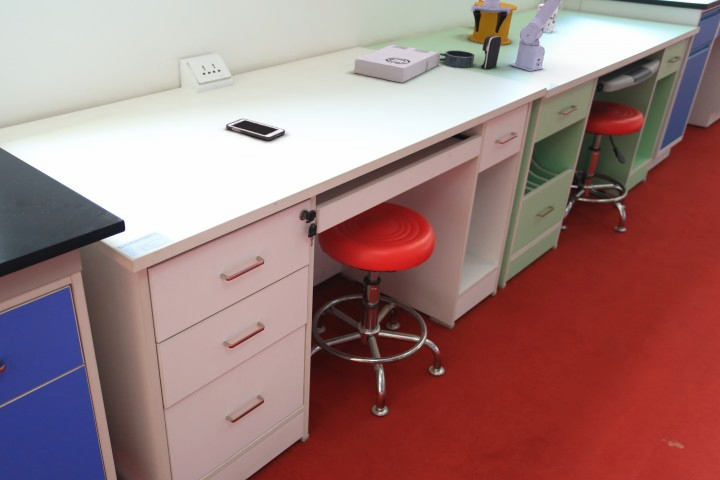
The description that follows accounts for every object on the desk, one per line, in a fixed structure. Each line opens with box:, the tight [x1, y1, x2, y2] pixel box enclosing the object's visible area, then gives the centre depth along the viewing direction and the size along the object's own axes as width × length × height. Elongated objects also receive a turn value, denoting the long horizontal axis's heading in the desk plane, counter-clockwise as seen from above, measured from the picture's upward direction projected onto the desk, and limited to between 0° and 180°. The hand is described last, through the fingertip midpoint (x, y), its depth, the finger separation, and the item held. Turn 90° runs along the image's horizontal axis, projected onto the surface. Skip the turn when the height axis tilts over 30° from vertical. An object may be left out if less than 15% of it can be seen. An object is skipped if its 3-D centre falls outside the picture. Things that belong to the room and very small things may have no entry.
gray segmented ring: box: [439, 49, 476, 69], centre depth 256 cm, size 14×11×4 cm
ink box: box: [535, 3, 560, 34], centre depth 321 cm, size 9×5×12 cm, turn 48°
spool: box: [468, 1, 518, 46], centre depth 294 cm, size 18×18×15 cm
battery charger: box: [481, 36, 502, 70], centre depth 252 cm, size 7×4×11 cm, turn 134°
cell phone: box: [225, 118, 286, 141], centre depth 180 cm, size 8×15×1 cm, turn 57°
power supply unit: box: [353, 43, 442, 84], centre depth 244 cm, size 19×33×5 cm, turn 149°
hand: (486, 31), depth 261 cm, fingers open, 7 cm apart
